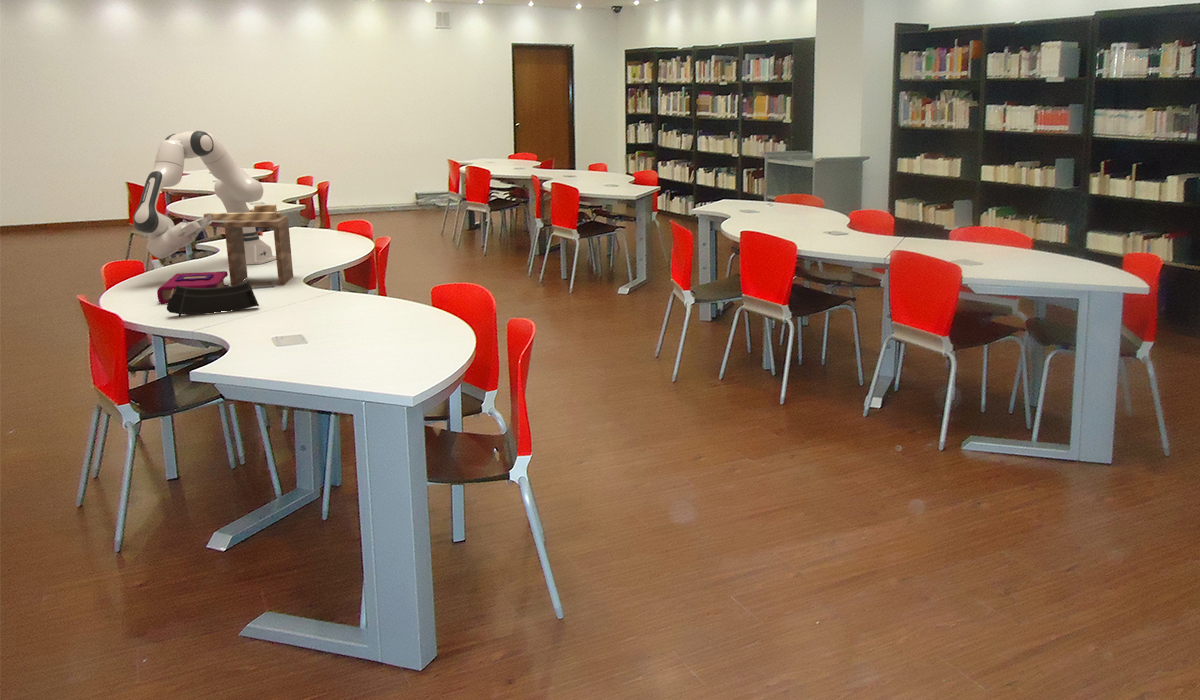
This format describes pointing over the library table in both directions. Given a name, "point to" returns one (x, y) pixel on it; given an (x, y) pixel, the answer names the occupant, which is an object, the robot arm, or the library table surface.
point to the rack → (238, 250)
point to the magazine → (211, 299)
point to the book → (191, 282)
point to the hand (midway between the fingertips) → (212, 215)
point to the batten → (242, 216)
